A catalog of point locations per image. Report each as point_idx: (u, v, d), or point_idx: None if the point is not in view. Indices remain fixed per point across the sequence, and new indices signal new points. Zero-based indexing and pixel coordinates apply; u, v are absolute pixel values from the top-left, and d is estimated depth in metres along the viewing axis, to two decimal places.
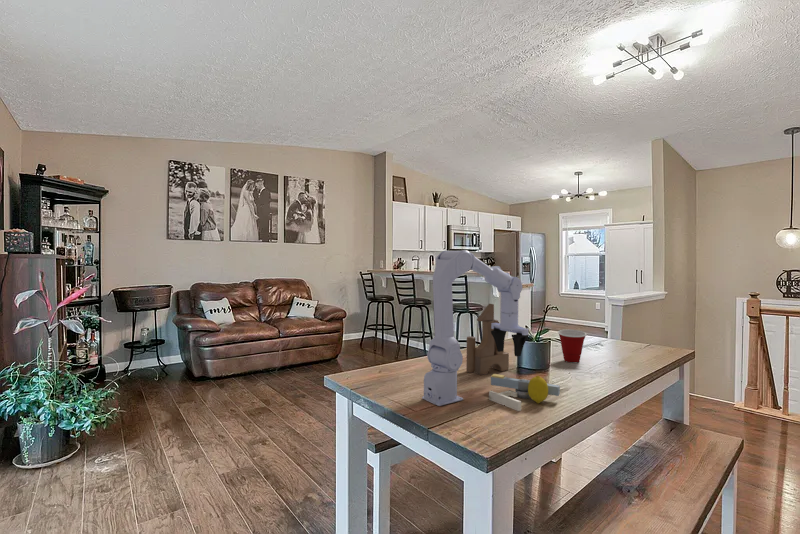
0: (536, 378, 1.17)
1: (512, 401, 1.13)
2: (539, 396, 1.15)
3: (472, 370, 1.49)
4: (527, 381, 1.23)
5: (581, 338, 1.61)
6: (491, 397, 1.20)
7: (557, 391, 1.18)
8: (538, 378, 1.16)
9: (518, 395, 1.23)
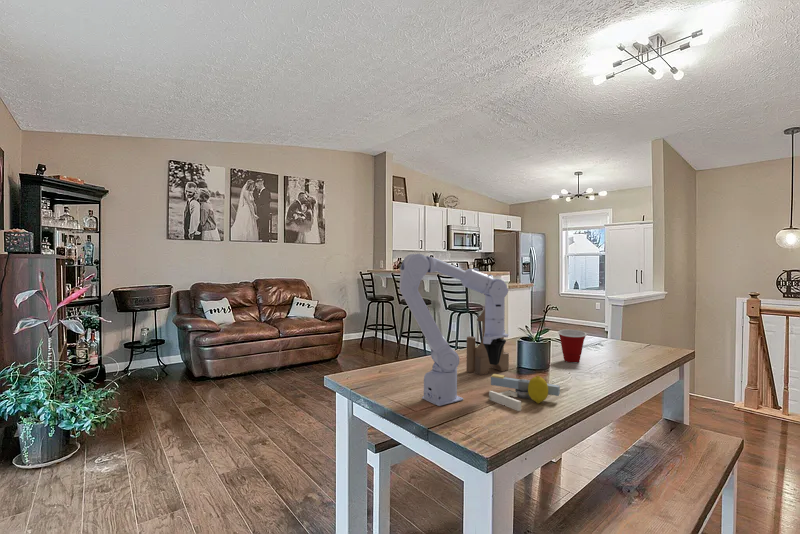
0: (536, 378, 1.17)
1: (512, 401, 1.13)
2: (539, 396, 1.15)
3: (472, 370, 1.49)
4: (527, 381, 1.23)
5: (581, 338, 1.61)
6: (491, 397, 1.20)
7: (557, 391, 1.18)
8: (538, 378, 1.16)
9: (518, 395, 1.23)
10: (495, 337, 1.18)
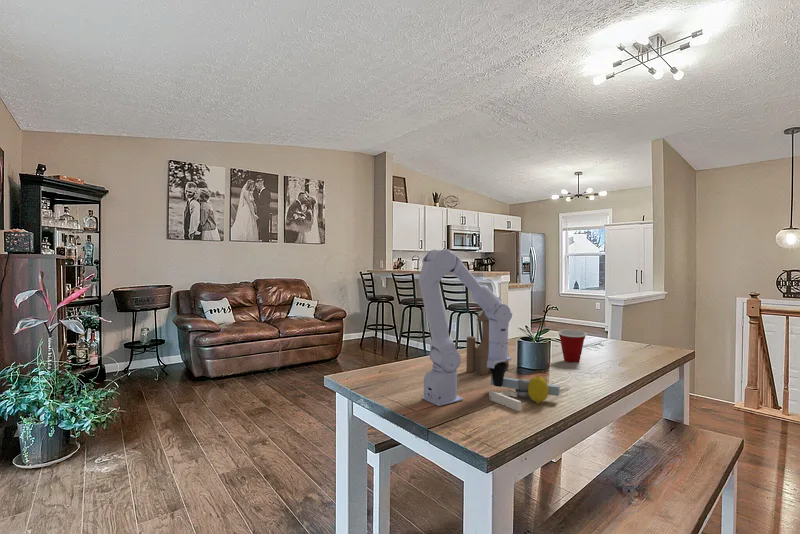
0: (536, 378, 1.17)
1: (512, 401, 1.13)
2: (539, 396, 1.15)
3: (472, 370, 1.49)
4: (527, 381, 1.23)
5: (581, 338, 1.61)
6: (491, 397, 1.20)
7: (557, 391, 1.18)
8: (538, 378, 1.16)
9: (518, 395, 1.23)
10: (499, 361, 1.21)
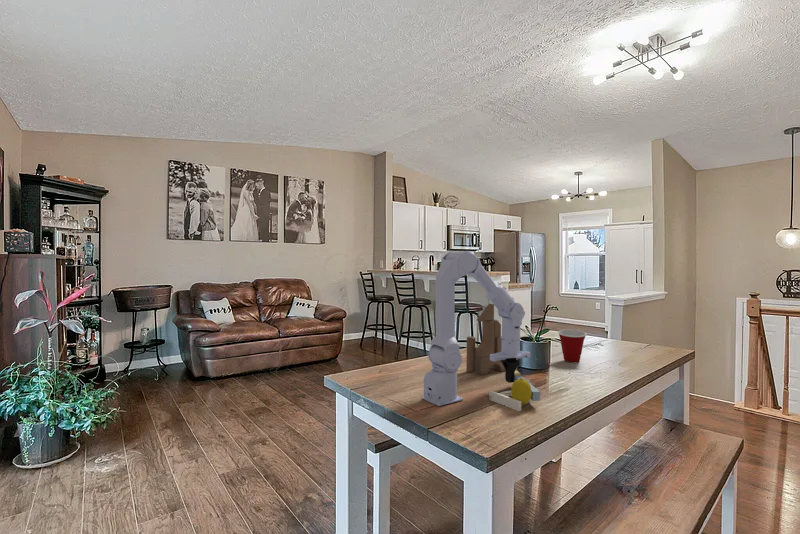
0: (520, 380, 1.14)
1: (512, 401, 1.13)
2: (522, 398, 1.12)
3: (472, 370, 1.49)
4: None
5: (581, 338, 1.61)
6: (491, 397, 1.20)
7: (532, 395, 1.14)
8: (522, 380, 1.14)
9: None
10: (502, 356, 1.28)
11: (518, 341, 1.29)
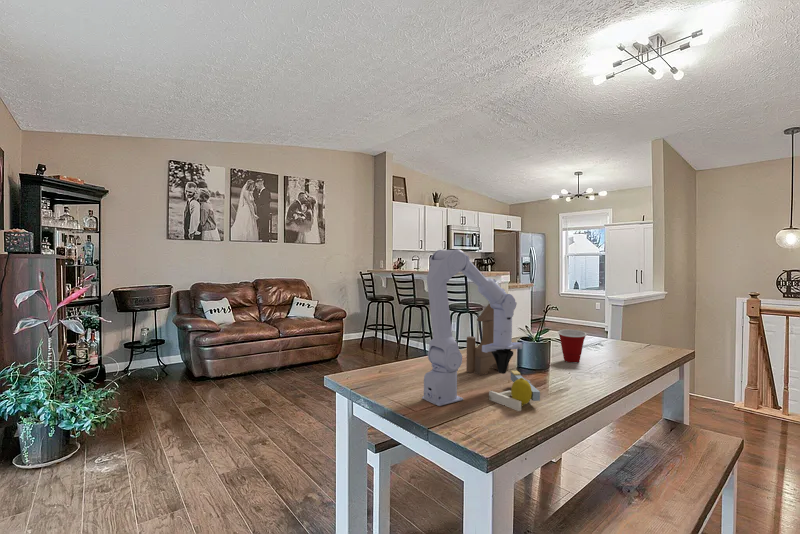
0: (520, 380, 1.14)
1: (512, 401, 1.13)
2: (522, 398, 1.12)
3: (472, 370, 1.49)
4: None
5: (581, 338, 1.61)
6: (491, 397, 1.20)
7: (532, 395, 1.14)
8: (522, 380, 1.14)
9: None
10: (494, 347, 1.28)
11: (510, 332, 1.29)
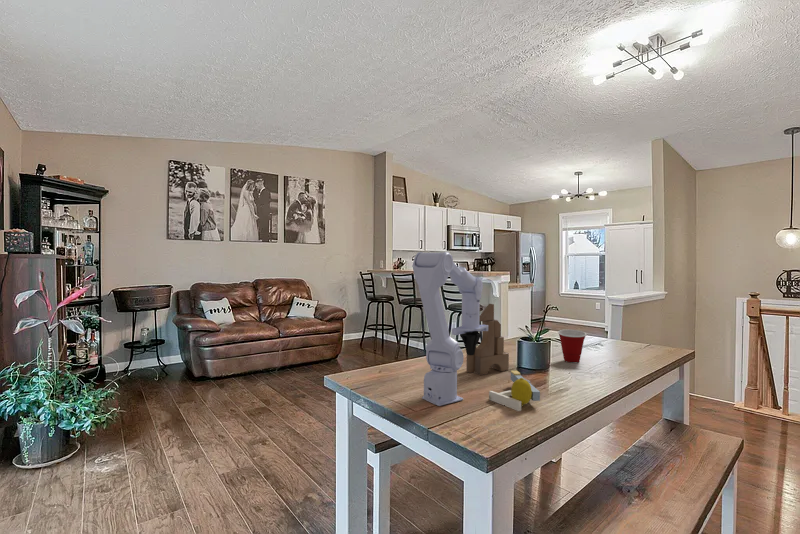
0: (520, 380, 1.14)
1: (512, 401, 1.13)
2: (522, 398, 1.12)
3: (472, 370, 1.49)
4: None
5: (581, 338, 1.61)
6: (491, 397, 1.20)
7: (532, 395, 1.14)
8: (522, 380, 1.14)
9: None
10: (464, 329, 1.31)
11: (478, 314, 1.32)
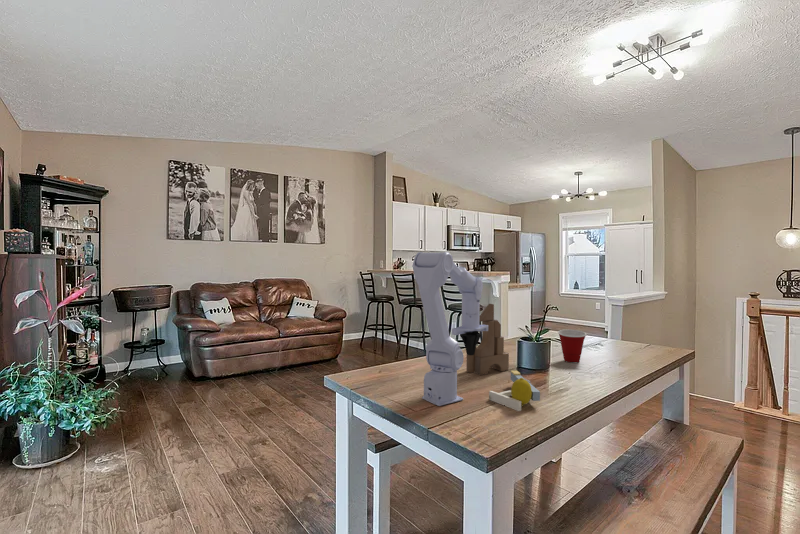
0: (520, 380, 1.14)
1: (512, 401, 1.13)
2: (522, 398, 1.12)
3: (472, 370, 1.49)
4: None
5: (581, 338, 1.61)
6: (491, 397, 1.20)
7: (532, 395, 1.14)
8: (522, 380, 1.14)
9: None
10: (464, 329, 1.31)
11: (478, 314, 1.32)
